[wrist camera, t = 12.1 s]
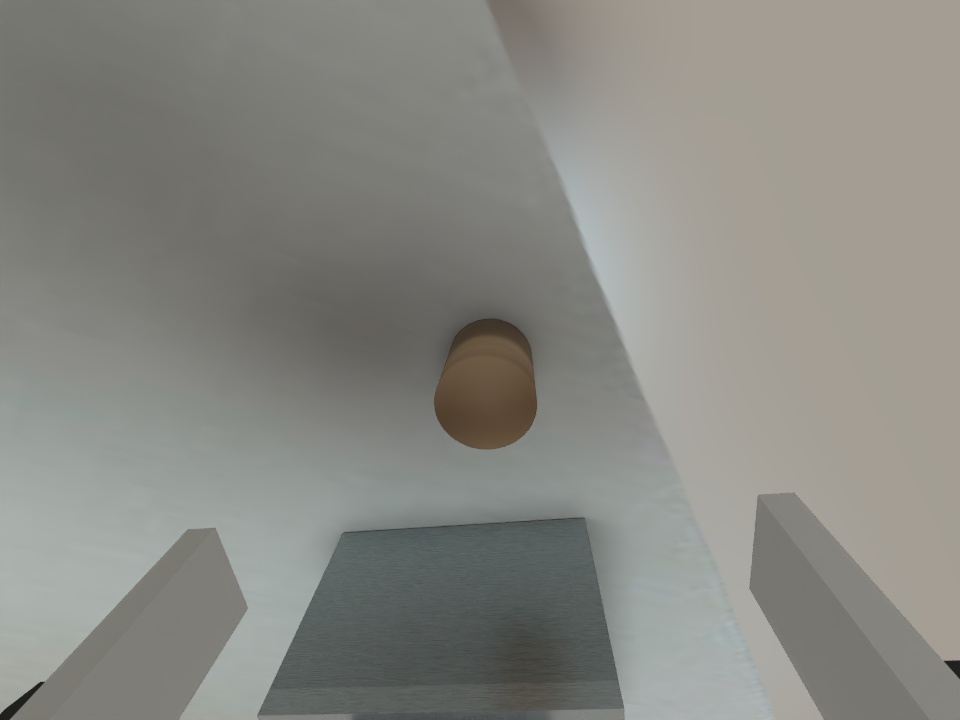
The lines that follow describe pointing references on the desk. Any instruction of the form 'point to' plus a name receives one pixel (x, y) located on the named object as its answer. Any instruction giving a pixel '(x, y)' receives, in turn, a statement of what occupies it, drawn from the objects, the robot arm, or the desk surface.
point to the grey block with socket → (453, 629)
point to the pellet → (487, 386)
